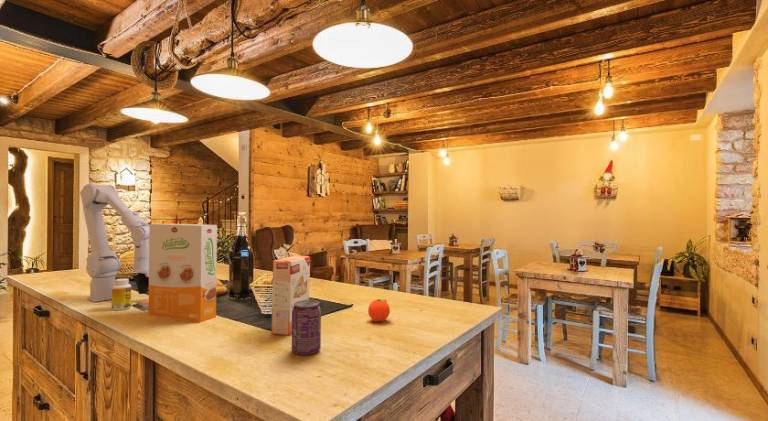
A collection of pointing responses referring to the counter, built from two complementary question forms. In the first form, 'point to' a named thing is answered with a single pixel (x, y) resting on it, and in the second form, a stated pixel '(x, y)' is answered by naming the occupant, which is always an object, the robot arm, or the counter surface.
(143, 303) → the tile
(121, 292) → the supplement bottle
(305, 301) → the beverage can
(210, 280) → the cereal box
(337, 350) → the counter surface
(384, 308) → the clementine
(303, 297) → the cracker box
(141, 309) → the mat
